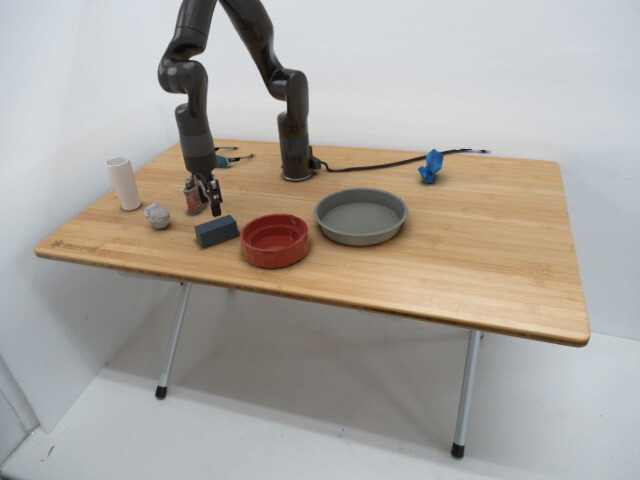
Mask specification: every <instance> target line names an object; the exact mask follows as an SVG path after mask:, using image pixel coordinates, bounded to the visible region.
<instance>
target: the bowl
mask: <svg viewBox="0 0 640 480" xmlns="http://www.w3.org/2000/svg"><path fill="white" fill-rule="evenodd" d="M239 239H240V245H241V250H242V256H243V258H244V259H245V260H246V261H247V263H249V264H251V265H253V266H256V267H259V268H265V269H277V268H281V267H282V268H283V267H287V266H290V265H292V264H295V263H297V262H298V261H299V260H301V259H302V258H304V257H305V255H306V254H307V253H308V251H309V249H310V237H309V227H308V224H307V222H306V221H304V220H303V219H302V218H301V217H298V216H296V215H294V214H288V213H269V214H264V215H262V216H258V217H256V218H253V219H252V220H250V221H249V222H247V223H245V224H244V226H243V227H242V228H241V230H240V232H239Z"/></svg>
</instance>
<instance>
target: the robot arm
mask: <svg viewBox="0 0 640 480" xmlns="http://www.w3.org/2000/svg"><path fill="white" fill-rule="evenodd" d="M217 2H218V4H219V5H220V6H221V8H222V9H223V11H224V13H225V14H226V16H227V17H228V19H229V22H230V23H231V25H232V27H233V29H234V30H235V32H236V33H237V35H238V37H239V39H240V41H241V42H242V43H243V45H244V46H245V48H246V50H247V52H248V54H249V55H250V57H251V59H252V61H253V62H254V65H255V67H256V68H257V70H258V72H259V75H260V77H261V80H262V82H263V84H264V86H265V88H266V90H267V92H268V94H269V95H270V96H271V97H272V98H273V99H274V100H276V101H280V102H284V103H286V110H284V111H281V112H280V113H278V114H277V116H276V123H277V132H278V133H277V134H278V140H279V149H280V158H281V159H280V160H281V165H280V169H281V170H282V177H283V179H285V180H287V181H289V182H301V181H305V180H308V179H309V178H311V177H312V176H313V175H315V171H318V170H322V165H323V166H324V167H325V169H326V170H327V171H328V172H330V173H342V172H348V171H358V170H372V169H379V168H385V167H391V166H396V165H401V164H406V163H410V162H414V161H418V160H423V159H426V155H427V154H424V155H420V156H417V157H416V156H415V157H413V158H409V159H404V160H399V161H393V162H389V163H383V164H375V165H367V166H366V165H365V166H351V167H346V168H341V169H332V168H330V167H329V165H328V163H327V162H325V161H323V160H321V159H320V158H318V157H316V156H315V155H314V153H313V152H314V151H313V146H312V145H310V136H309V135H310V134H309V123H308V122H309V120H308V118H309V114H310V89H309V88H310V86H309V79H308V76H307V75H306V74H305V72H303V71H302V70H299V69H294V68H289V67H288V68H287V67H284V66H283V65H282V63H281V62H280V60H279V58H278V56H277V54H276V52H275V48H274V45H275V27H274V24H273V22H272V19H271V17H270V15H269V13H268V11H267V9H266V7H265V5H264V3H263V2H262V1H261V0H182V1H181V3H180V6H179V8H178V12H177V17H176V21H175V26H174V32H173V35H172V38H171V40H170V41H169V43H168V45H167V47H166V48H165V50H164V53H163V54H162V56H161V59H160V61H159V63H158V66H157V70H156V71H157V73H156V74H157V75H156V76H157V81H158V84H159V87H160V88H161V89H162V90H163V91H164V92H166V93H168V94H173V95H187V102H184V103H180V104H178V105H177V106H176V107H175V108H174V118H175V123H176V127H177V131H178V132H177V133H178V137H179V145H180V149H181V153H182V154H181V155H182V157H183V162H184V167H185V170H186V171H187V172H189V173H190V174H191V175H192V179H193V184H194V185H196V189H197V190H198V193H199V197H200V202H201V203H202V204H204V203H205V204H207V203H209V206H210V212H211V216H212V217H213V218H219V217H220V216H221V217H222V213H223V212H222V208H221V204H223V203H224V201H223V196H222V191H221V186H220V180H218V179H216V177H215V175H214V174H213V173H212V172H213V171H214V170H215V169H216V168H218V167H217V165H218V162H217V157H216V154H217V151H215V143H214V138H213V134H212V132H211V128H210V122H209V117H208V111H207V109H208V92H209V73H208V71H207V69H206V67H205V66H204V64H203V63H202V62H200V61H199V60H196V59H192V58H193V57H196V56H200V55H201V54H204V53H205V51H206V49H207V46H208V42H209V36H210V32H211V25H212V21H213V16H214V13H215V9H216V5H217ZM456 149H457V148H455V149H448V150H443V151H438V152H439V153H441V154H442V155H445V154H450V153H458V152H459V153H460V152H468V151H473V150H472V149H465V148H459V149H460V150H456ZM479 151H480V152H482V153H484V154H486V153H487V151H486V150H485V149H484V150H479Z"/></svg>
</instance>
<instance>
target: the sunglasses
mask: <svg viewBox="0 0 640 480" xmlns="http://www.w3.org/2000/svg"><path fill="white" fill-rule="evenodd" d="M214 147H215V146H214ZM223 149H224V150H237V149H238V147H237V146H217V147H215V152H218V151H219V150H223ZM253 156H254V154H252V153H251V154H249V155H245V156H238V157H229V156H227V155H223V154H219V153H216V157H217V162H218V165H217V167H216V168H228V167H229V166H230V164H231V163H237V162H240V160H245V159H249V158H251V157H253Z"/></svg>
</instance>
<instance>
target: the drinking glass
mask: <svg viewBox="0 0 640 480" xmlns="http://www.w3.org/2000/svg"><path fill="white" fill-rule="evenodd" d="M104 167H105V170H106V173H107V176H108V179H109V181H110V182H111V186H112V187H113V190H114V191H115V194H116V196H117V198H118V200H119V201H118V202H119V203H120V206H121V208H122V210H123V211H127V212H128V211H129V212H130V211H135V210H137V209H138V208H140V207H141V204H142V203H141V199H140V196H139V191H138V187H137V183H136V177H135V173H134V169H133V167H132V163H131V161H130V158H129V156H123V155H122V156H120V155H119V156H114V157H111V158H108V159H107V160H106V161H105V162H104Z"/></svg>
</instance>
